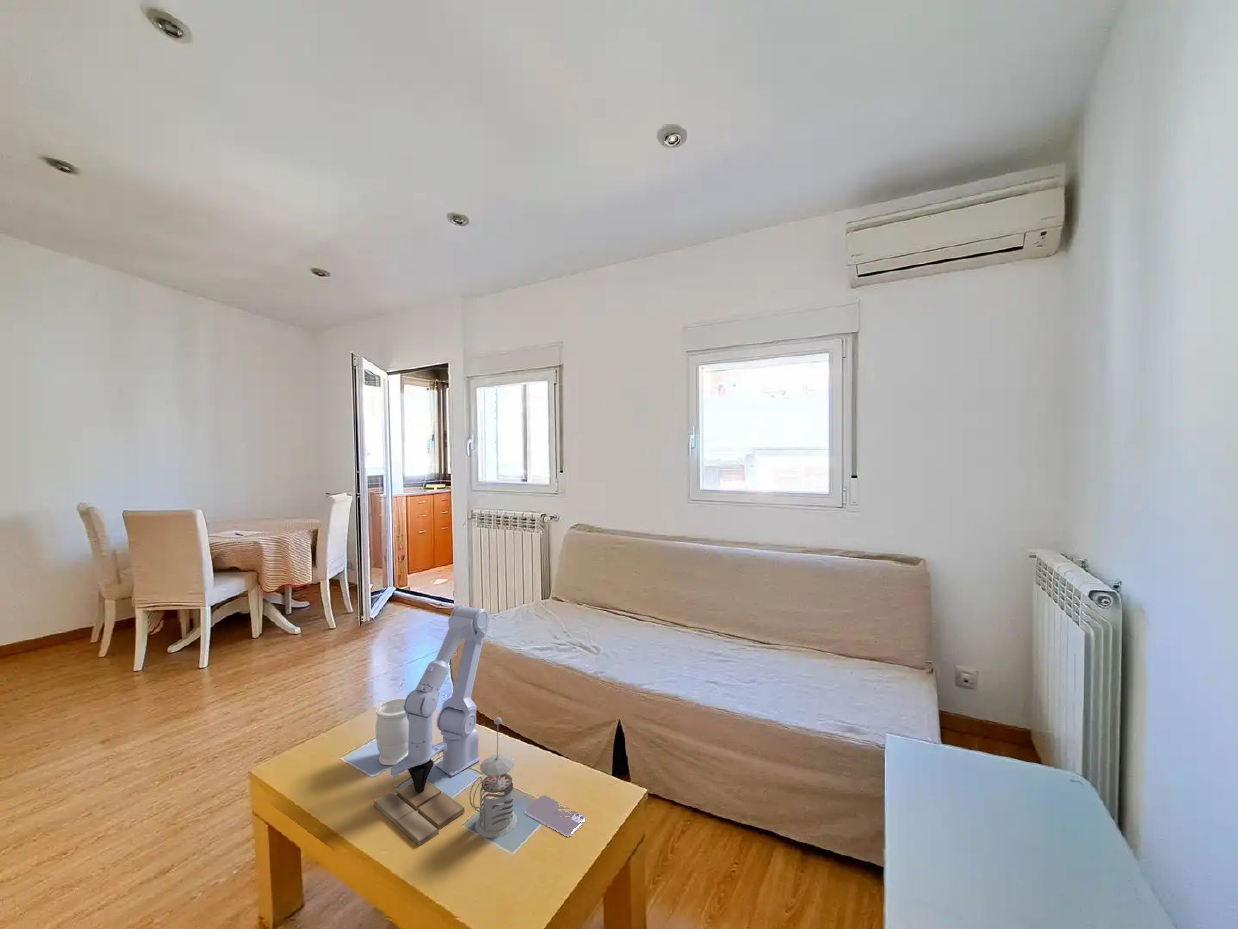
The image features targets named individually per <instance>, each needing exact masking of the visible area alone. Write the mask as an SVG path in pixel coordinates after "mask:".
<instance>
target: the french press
mask: <svg viewBox="0 0 1238 929" xmlns="http://www.w3.org/2000/svg"><path fill="white" fill-rule="evenodd" d="M493 723H494V725H497V726H496V727H497V730H496V732H497V733H496V734H497V735H496V736H497V737H496V744H497V745H496V754H493V755H491V756H489V757H488V758H486V759H483V761H481V763H480V765H479V770H480V772H481V773H482V775H484V776H486V777H484V779H482V776H479V777H478V778H476V779H475V780H474V782H473V784H472V785H471V788H470V792H469V796H468V797H469V798H468V799H469V804H470V806H471V808H473V809H474V810H475V811H476V812H478V813H479V817H478V818H477V819H476V820H475V826H474V827H475V828H474V829H475V831H476V833H477V834H478V835H479V836H481V837H483V838H488V839H489V838H490V839H495V838H500V837H503V836H505V835H507V834H509V833H510V832H512V830H513V829H514V828H515V826H516V825H517V822H518V817H517V815H516V814H515V812H514V783H513V778H512V777H511V775H510V774H509V773H508V772H510V771H511V770H513V768H514V766H515V760H514V759H513V757H511V756H509V755H507V754H501V753H500V754H499V725H500V724H502V723H503V720H502V718H501V717H499V716H498V717H495V718H494V720H493ZM478 780H480V782H479V783H478V785H477V787H476V789H475V790H474V793H473V797H471V796H472V791H473V788H474V786H475V784H476V782H477V781H478ZM480 785H481V787H480ZM479 787H480V792H479V807H478V806H476V804H475V798H476V793H477V790H478V788H479ZM485 793H486V794H485ZM497 793H503V794H497ZM488 797H492V798H488ZM500 803H503V804H500Z"/></svg>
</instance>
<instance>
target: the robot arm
mask: <svg viewBox="0 0 1238 929" xmlns="http://www.w3.org/2000/svg"><path fill="white" fill-rule="evenodd" d="M490 618H491V617H490V615H489V613H488V611H487V610H486V609H485V608H478V607H469V606H464V605H456V606H455V607H454V608H453V609H452V611H451V613H450V615H449V617H448V620H447V621H448V622H447V623H448V630H447V632H446V635H445V638H444V639H443V642H442V645H441V647H440V649H439V651H438V654H436V658H435V660H433V661H430V662H428V664H427V667H426V669H425V670H424V672H423V675H421V676H422V677H421V678H420V680H419V681H418V684H417V686H416V688H414V689H413V690H412V691H410V692H408V693H409V694H408V695H407V696H406V697H405V698H406V700H405V704H404V705H403V708H404V711H405V712H406V713H407V719H408V720H409V734H408V755H407V756H406V757H405V758H403V759H402V760H401V761H399V762H398V763H397V764H395V765H391V766H390V776H392V778H397V777H399V774H401V773H404V772H406V771H408V773H409V775H410V777H411V780H412V783H413V784H414V788H415V791H416V792H417V793H421V792H423V791H424V788H425V784H426V781H428V777H429V775H430V772H431V771H432V769H433V767H434V764H435V763H434V760H433V758H434V757H436V756H438V754H440V753H442V760H441V761H439V762H436V764H435V766H436V767H437V768H438V769H440V770H442V772H444V773H446V774H447V775H449V776H450V777H454V776H456V775H457V774H459V773H461V772H463V771H464V770H467V768H469V767H472V766H473V765H475V764H476V763H478V762H480V760H481V759H480V757H479V740H480V739H479V734H478V731H477V728H475V727H476V725H477V724H476V723H477V709H478V707H477V705H476V703H475V702H474V701H473V700H472V698H471V697H472V693H473V689H474V684H475V680H476V674H477V671H478V665H479V661H480V658H481V657H480V656H481V653H482V652H481V651H482V648H483V644H484V639H485V637H487V636H486V635H487V632H488V628H489V622H490ZM463 639H464V643H463V647H462V652H461V656H460V660H459V664H458V669H457V672H456V676H455V677H456V678H455V681H454V686H453V690H452V695H451V697H449V698H448V699H446V700H445V701H443V703H442V708H441V709H440V712H439V713H438V716H437V718H436V727H437V729H438V730H439V731H440V735H441V736H442V741H440V742H438V743H436V744H433V714H434V712H435V711H436V709H437V708H438V704H439V699H440V698H439V697H440V690H441V687H442V686H443V684H444V682H445V680H446V678H447V676H448V674H449V669H450V668H449V663H450V660H451V659H452V658H453V656H454V654H455V652H456V651H457V649H458V647H459V646H460V644H461V642H462V640H463Z"/></svg>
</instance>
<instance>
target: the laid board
mask: <svg viewBox="0 0 1238 929" xmlns="http://www.w3.org/2000/svg"><path fill="white" fill-rule="evenodd" d="M373 802H374V803H373V806H374V807H375V808H376V809H378V811H380V812H381V813H382V814H383V815H384V816H385V817H386V818H387V819H389V821H391V822H392V824H394V825H395V826H396V827H398V829H400V831H402V832H404V834H405V835H407V836H408V837H409V838H410V839H411V841H413V842H414V843H415V844H417V845H418V846H419V847H420V846H422V845H424V844H426V843H427V842H428V841H429V840H431V839H433V838H434V837H436V836H437V835H439V833H440V832H439V831H440V830H438V829H437V828H436V827H435V826H433V825H432V824H431V823H430V822H429V821H427V820H426V819H425V818H424V817H423V816H421V815H420V814H419V813H418V811H415V810H414V809H413V808H412V807H410V806H409V805H408V804H407V803H405V802H404V801H403V800H402V799H401V798H399V797H398V796H397V794H396V793H394V792H393V791H390V792H388V793H385V795H384V794H383V796H380V797H379V798H377V799H375V800H374V801H373Z"/></svg>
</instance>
